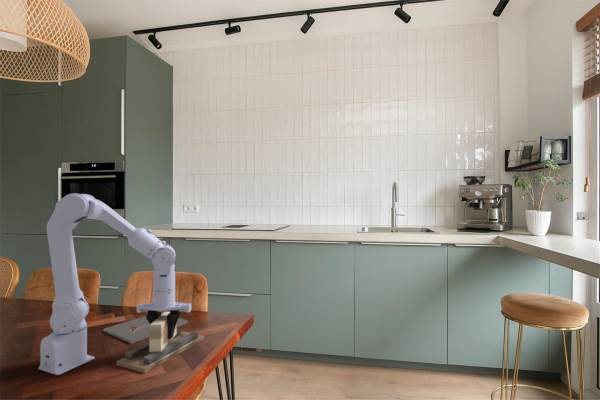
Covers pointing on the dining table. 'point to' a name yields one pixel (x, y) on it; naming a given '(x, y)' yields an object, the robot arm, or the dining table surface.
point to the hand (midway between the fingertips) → (164, 337)
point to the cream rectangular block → (159, 333)
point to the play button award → (139, 334)
